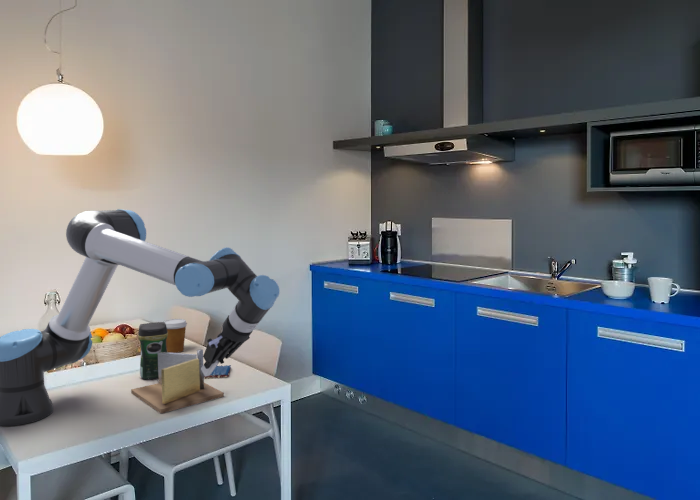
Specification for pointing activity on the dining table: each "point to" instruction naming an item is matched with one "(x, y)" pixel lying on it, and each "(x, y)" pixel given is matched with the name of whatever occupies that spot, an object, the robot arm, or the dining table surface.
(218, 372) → the woven mat
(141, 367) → the coffee jar
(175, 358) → the steel leaf and pin
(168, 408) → the walnut board
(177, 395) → the panel
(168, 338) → the disposable coffee cup
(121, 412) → the dining table surface
